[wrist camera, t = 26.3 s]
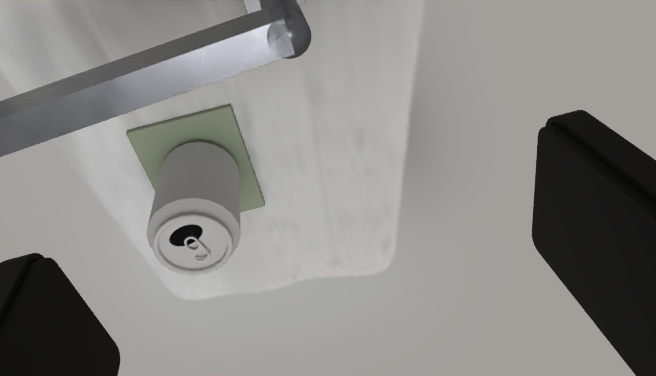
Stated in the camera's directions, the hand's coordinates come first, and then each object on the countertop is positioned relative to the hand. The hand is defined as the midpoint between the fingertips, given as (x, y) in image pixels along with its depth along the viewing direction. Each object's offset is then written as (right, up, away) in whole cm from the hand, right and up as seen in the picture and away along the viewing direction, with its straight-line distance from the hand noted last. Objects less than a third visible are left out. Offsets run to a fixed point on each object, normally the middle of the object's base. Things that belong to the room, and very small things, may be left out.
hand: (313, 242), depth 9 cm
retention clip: (-13, +15, +30) cm, 36 cm away
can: (-12, +3, +39) cm, 41 cm away
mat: (-13, +3, +40) cm, 42 cm away
